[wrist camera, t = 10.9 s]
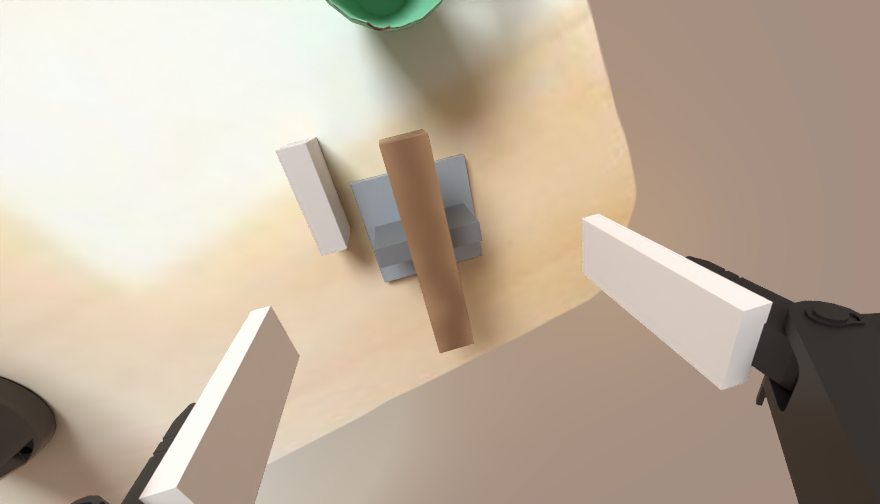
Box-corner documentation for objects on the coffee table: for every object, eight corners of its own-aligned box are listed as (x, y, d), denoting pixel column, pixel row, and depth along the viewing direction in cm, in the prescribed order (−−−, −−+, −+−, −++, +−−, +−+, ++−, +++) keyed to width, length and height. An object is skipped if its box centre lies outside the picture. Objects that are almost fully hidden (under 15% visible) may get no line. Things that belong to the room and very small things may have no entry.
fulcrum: (384, 278, 39) (385, 312, 32) (351, 182, 33) (344, 201, 27) (479, 252, 39) (498, 280, 33) (462, 153, 34) (480, 165, 28)
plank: (434, 330, 34) (439, 353, 31) (379, 140, 25) (379, 145, 22) (465, 321, 35) (474, 343, 31) (421, 129, 26) (427, 133, 22)
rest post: (328, 236, 35) (321, 255, 31) (290, 143, 31) (275, 150, 26) (351, 230, 35) (346, 248, 31) (316, 137, 31) (305, 143, 26)
